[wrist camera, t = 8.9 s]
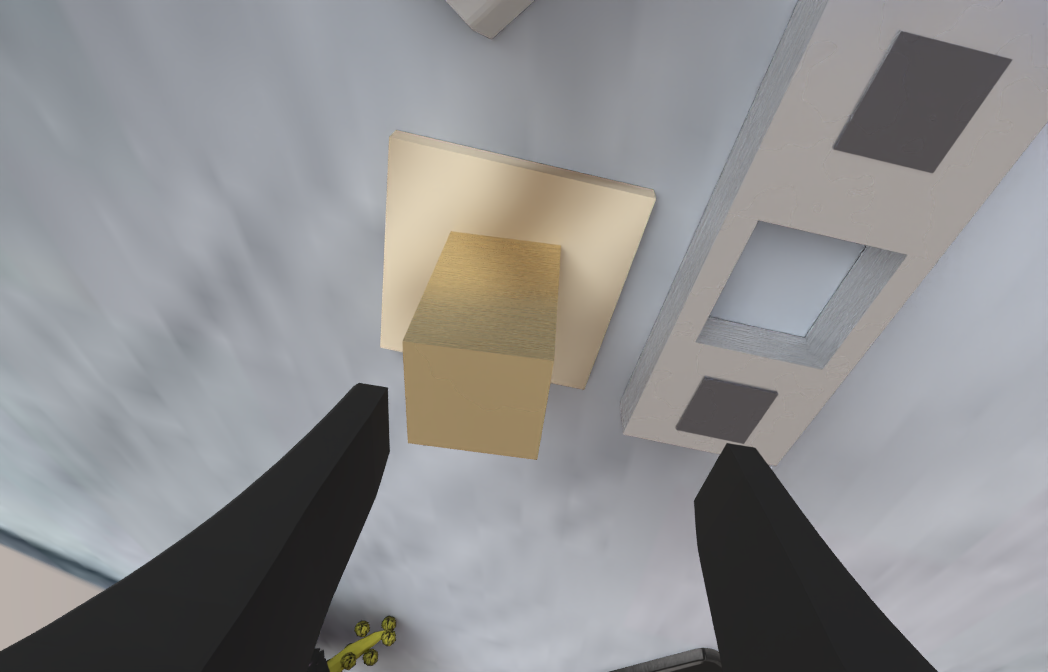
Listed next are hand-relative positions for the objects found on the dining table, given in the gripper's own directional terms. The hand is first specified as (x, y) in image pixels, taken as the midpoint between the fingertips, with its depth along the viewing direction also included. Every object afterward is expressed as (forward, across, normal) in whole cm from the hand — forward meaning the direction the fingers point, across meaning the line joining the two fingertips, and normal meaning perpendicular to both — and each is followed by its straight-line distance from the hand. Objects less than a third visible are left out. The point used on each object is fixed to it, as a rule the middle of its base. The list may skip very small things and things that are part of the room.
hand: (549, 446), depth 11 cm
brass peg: (+9, +2, +2) cm, 10 cm away
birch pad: (+10, +2, +2) cm, 11 cm away
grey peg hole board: (+10, -8, -1) cm, 13 cm away
